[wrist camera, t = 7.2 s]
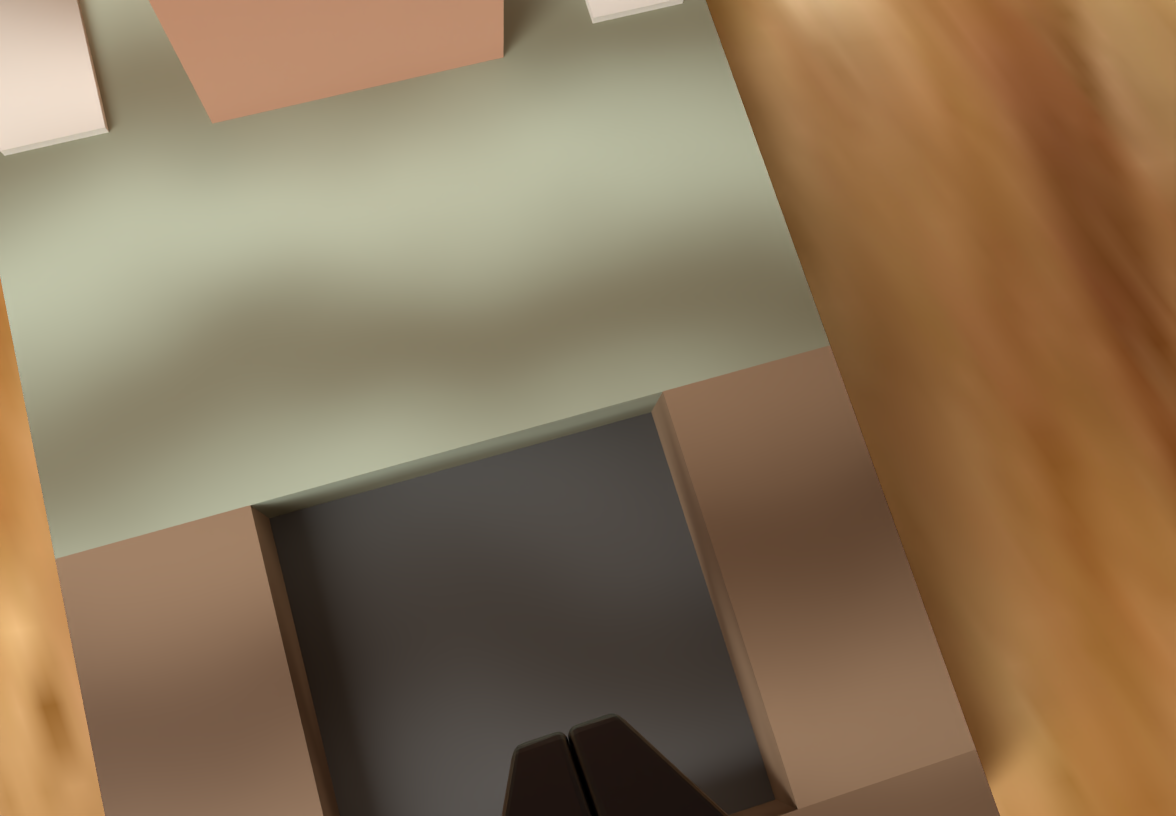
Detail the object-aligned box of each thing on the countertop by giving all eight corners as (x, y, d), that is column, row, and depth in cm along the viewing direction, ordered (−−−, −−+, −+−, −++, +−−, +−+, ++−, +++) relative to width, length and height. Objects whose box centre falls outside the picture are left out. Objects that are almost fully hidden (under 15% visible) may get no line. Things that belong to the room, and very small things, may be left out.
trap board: (961, 818, 22) (1011, 834, 20) (198, 1083, 20) (161, 1131, 18) (485, -527, 29) (484, -622, 27) (-109, -438, 27) (-161, -533, 25)
